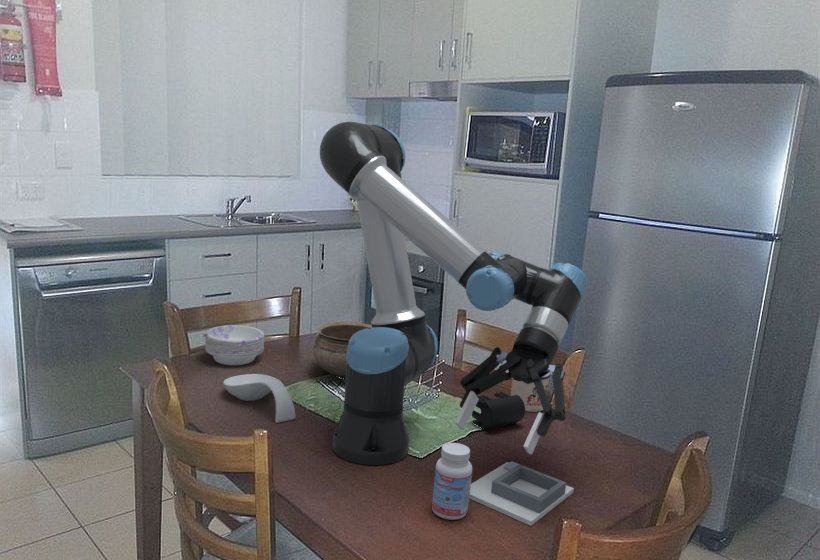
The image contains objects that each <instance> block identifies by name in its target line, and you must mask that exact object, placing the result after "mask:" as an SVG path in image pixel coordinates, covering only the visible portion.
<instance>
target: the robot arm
mask: <svg viewBox="0 0 820 560" xmlns="http://www.w3.org/2000/svg"><path fill="white" fill-rule="evenodd" d="M320 142H321V143H320V146H319V159H320V162H321V165H322V167H323V169H324V171H325V173H327V175H328V176H329V177H330V178H331V179H332V180H333V182H335V183H336V184H337V185H338V186H339V187H341V189H343V190H344V191H345V192H347V195H348V196H350V197H351V198H352V199H353V200H354V201H356V205H357V210H358V215H359V222H360V227H361V233H362V239H363V244H364V250H365V256H366V261H367V262H366V263H367V265H368V271H369V272H368V273H369V277H370V278H369V279H370V283H371V289H372V295H373V300H374V306H375V312H376V313H375V316H373V318H372V319H371V321H370V325H372V328H371V329H368V328H367V329H363V330H360V331H358V332H356V333H355V334H353V335H352V337H351V338H350V340H349V343H348V350H347V352H346V379H345V380H344V399H343V400H344V401H343V410H342V413H341V415H340V418H339V420H338V423H337V426H336V428H335V431H334V432H333V436H332V450H333V452H334V453H335V454H336V455H337V456H338V457H340V458H342V459H343V460H346V461H349V462H351V463H355V464H358V465H359V464H360V465H365V466H366V465H368V466H369V465H371V466H380V465H381V466H382V465H383V466H384V465H389V464H394V463H397V462H398V461H401V460H403V459H404V458H406V457H407V456H408V454H409V448H410V437H409V435H408V433H407V427H406V421H405V417H404V401H405V389H406V388H405V387H406V385H408V384H409V383H411V382H412V381H413V380H415V379H416V378H418V377H419V376H422V375H424V374H425V373H426V372H427V371H428V370H429V369H430V368H431V366H432V365H433V363H434V362H435V360H436V358H437V354H438V350H439V344H438V338H437V335H436V333H435V331H434V330H433V329H432V327H430V326H429V325H428V324H427V317H426V314H425V312H424V310H422V309H420V308H419V307H418V306H417V302H416V296H415V290H414V285H413V280H412V279H413V278H412V274H411V273H412V272H411V267H410V262H409V256H408V250H407V245H406V238H407V239H408V240H409V241H410V242H411V243H413V245H415V246H416V247H417V248H418V249H420V250H421V252H423V253H424V254H425V255H426V256H427V257H428V258H430V260H432V261H433V262H434V263H435V264H437V265H438V266H439V268H441V269H442V270H443V271H444V272H445V273H447V274H448V275H449V276H450V277H451V278H453V279H454V280H455V281H456V282H457V283H458V284H459V285H460V286H461V287H463V288H464V289H465V292H466V296H467V299H468V300H469V302H470V303H471V305H472V306H473V307H474V308H476V309H478V310H480V311H485V312H491V311H495V310H499V309H502V308H504V307H505V306H506V305H508V304H510V302H511V301H513V300H517V301H520V302H522V303H524V304H527V305H530V306H531V309H530V311H529V313H528V314H527V317H526V318H525V320H524V322H523V325H522V328H521V329H520V331H519V333H518V335H517V337H516V338H515V341H514V343H513V347H512V349H511V351H509V352H508V353H507V352H505V351H503V350H501V348H500V347H498V346H497V347H495V348H493V350H492V352H491V353H490V355H489V356H488V357H487V358H485V360H483V361H482V362H481V363H480V364H478V365H477V366H476V367H475V368H474V369H472V370H471V371H470V372H469V373H468V374H466V375H465V376H464V377H463V378H462V379H460V381H459V384H460V386H461V387H462V388H463V390H464V391H465V393H464V395H463V397H462V398H461V401H460V402H459V407H460V410H459V411H460V412H459V413H458V415H457V417H456V418H455V421H454V423H455V425H456V426H457V427H458V429H459V430H462V431H464V430H465V428H466V426H467V424H468V422H469V420H470V418H471V417H472V412H473V410H475V407H476V404H477V402H478V400H479V399H478V397H477V396H480V395H481V394H482V393H484V392H486V391H489V390H490V389H491V388H493V387H495V386H497V385H499V384H501V383H503V382H504V381H510V380H513V379H514V380H516V381H523V382H524V383H526V384H530V383H533V382H534V384H535V387H536V390H537V393H538V396H539V399H540V402H541V405H542V407H543V410H542V411H543V413H542V412H541V411H538V413H537V415H536V417H535V420H534V422H533V423H532V424H533V425H532V427H531V429H530V431H529V432H528V435H527V437H526V439H525V442H524V444H523V448H524V449H525V451H526V453H527V454H529V455H533V453H534V450H535V449H536V446H537V444H538V441H539V440H540V437H543V438H544V437H546V435H547V434H548V431H549V429H550V427H551V425H552V423H553V422H554V421H556V420H559V421H560V422H561V421H563V422H564V421H565V420H566V418H567V416H566V415H567V413H566V405H565V394H564V379H565V376H566V370H565V369H564V366H563V365H562V363H557V364H552V362H553V361H554V359H555V357H556V354H557V351H558V349H559V345H560V344H561V343H562V341H563V338H564V336H565V334H566V331H567V329H568V327H569V325H570V323H571V321H572V319H573V317H574V315H575V313H576V312H577V309H578V306H579V305H580V303H581V301H582V297H583V294H584V293H585V290H586V287H587V285H588V280H587V276H586V275H585V273H584V272H583V271H582V270H581V269H580V268H579V267H578V266H576V265H573V264H571V263H567V262H566V263H564V262H557V263H555V264H553V265H552V267H551V268H549V269H547V268H543V267H540V266H537V265H535V264H533V263H530V262H528V261H525V260H522V259H520V258H517V257H514V256H512V255H511V254H509V253H503V252H500V251H498V250H492V251H490V252H487V251H486V250H485V249H484V248H483V247H482V246H481V245H479V244H478V243H477V242H476V241H475V240H473V239H472V238H471V237H470V236H469V235H468V234H466V233H465V232H464V231H463V230H462V229H461V228H459V226H457V225H455V223H454V222H453V221H452V220H450V219H449V218H448V217H447V216H445V214H443V213H442V212H441V211H439V209H437V208H436V207H435V206H434V205H433V204H431V203H430V201H428V200H427V199H426V198H425V197H424V196H423V195H421V194H420V193H419V192H418V191H417V190H415V189H414V188H413V187H412V186H411V185H409V184H408V183H407V182H406V181H405V180H404V179H402V173H401V172H402V171H403V168H404V167H405V163H406V150H405V147H404V144H403V142H402V140H401V139H400V137H399V136H398V135H397V134H396V133H395V132H394V131H392V130H390V129H388V128H386V127H385V126H383V125H379V124H366V123H361V122H356V121H343V122H339V123H337V124H335V125H333V126H331V128H329V129H328V130H327V131H326V133H325V134H324V135H323V137H322V139H321V141H320ZM405 237H406V238H405ZM504 362H505V363H504ZM500 364H501V365H500ZM497 367H498V368H497ZM496 368H497V369H496ZM549 372H550V377H551V378H552V383H553V397H554V399H553V400H554V408H555V409H552V407H551V404H550V400H549V398H548V394H547V395H546V392H545V389H544V386H543V383H542V380H541V378H542V377H543V376H545V375H546V374H548V373H549Z"/></svg>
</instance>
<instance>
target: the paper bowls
mask: <svg viewBox="0 0 820 560" xmlns="http://www.w3.org/2000/svg"><path fill="white" fill-rule="evenodd" d="M204 343H205V352H206V353H207V354H209V355H211V356H212V357H213V359H214V361H215V362H217V363H219V364H221V365H224V366H244V365H247V364H249V363H252V362H254V360H255V359H256V357H257V356H259V355H260V354H262V353H263V352H264V349H265V348H264V347H265V333H264V331H262V330H261V329H259V328H256V327H254V326H253V327H252V326H249V325H238V324H233V325H231V324H230V325H221V326H219V325H218V326H216V327H215V326H214V327H211V328H209V329H208V330H206V333H205V342H204Z"/></svg>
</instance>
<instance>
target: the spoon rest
mask: <svg viewBox="0 0 820 560" xmlns="http://www.w3.org/2000/svg"><path fill="white" fill-rule="evenodd" d="M222 384H223V386H224V388H225V390H226V391H227V392H228V393H229V394H231V395H232V396H234V397H235V398H237V399H239V400H241V401H249V402H252V401H259V400H260V399H263V398H264V397H265V396H267V395H268V394H269V393H270V392H271V393H272V394H273V396H274V401H275V420H274V422H275V423H277V424H278V423H283V422H286V421H288V422H289V421H291V420H295V419H296V410H295V405H294V403H293V400H292V398H291V395H290V393H289V392H288V390H287V388H286V386H285V385H284V384H283V383H282V381H281V380H280V379H278V378H276V377H273V376H271V375H267V374H263V373H262V374H261V373H260V374H259V373H247V374H241V375H234V376H230V377H228V378H226V379H224V380H223V383H222Z"/></svg>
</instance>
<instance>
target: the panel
mask: <svg viewBox="0 0 820 560" xmlns="http://www.w3.org/2000/svg"><path fill="white" fill-rule="evenodd" d="M574 489H575V488H574V487H571V486H569V485H567V482H566V481H563V480H560V479H558V478H555V477H553V476H551V475H548V474H546V473H542V472H541V471H538V470H535V469H532V468H531V467H528V466H525V465H522V464H519V463H517V462H514V461H510V462H508V461H507V462H505V463H504V464H501V465H500V466H498V467H497V468H495V469H493V470H492V471H490V472H488V473H487V474H485V475H484V476H482V477H480V478H478V479H477V480H475V481H473V482H471V486H470V495H469V500H472V501H474V502H477V503H479V504H481V505H482V506H483V505H484V506H485V507H488V508H490V509H493V510H494V511H497V512H499V513H501V514H503V515H506V516H508V517H510V518H512V519H515V520H517V521H518V522H521V523H523V524H526V525H528V526H530V527H532V526H533V525H534V524H535V523H537V522H538V521H539V520H541V519H542V518H543V517H544V516H545V515H546V514H548V513H549V512H551V511H552V510H553V509H554V508H556V507H557V506H558V505H559V504H561V503H562V502H563V501H564V500H566V499H567V498H568V497H569V496H571V495H572V494H573V493H574V491H575V490H574Z"/></svg>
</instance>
